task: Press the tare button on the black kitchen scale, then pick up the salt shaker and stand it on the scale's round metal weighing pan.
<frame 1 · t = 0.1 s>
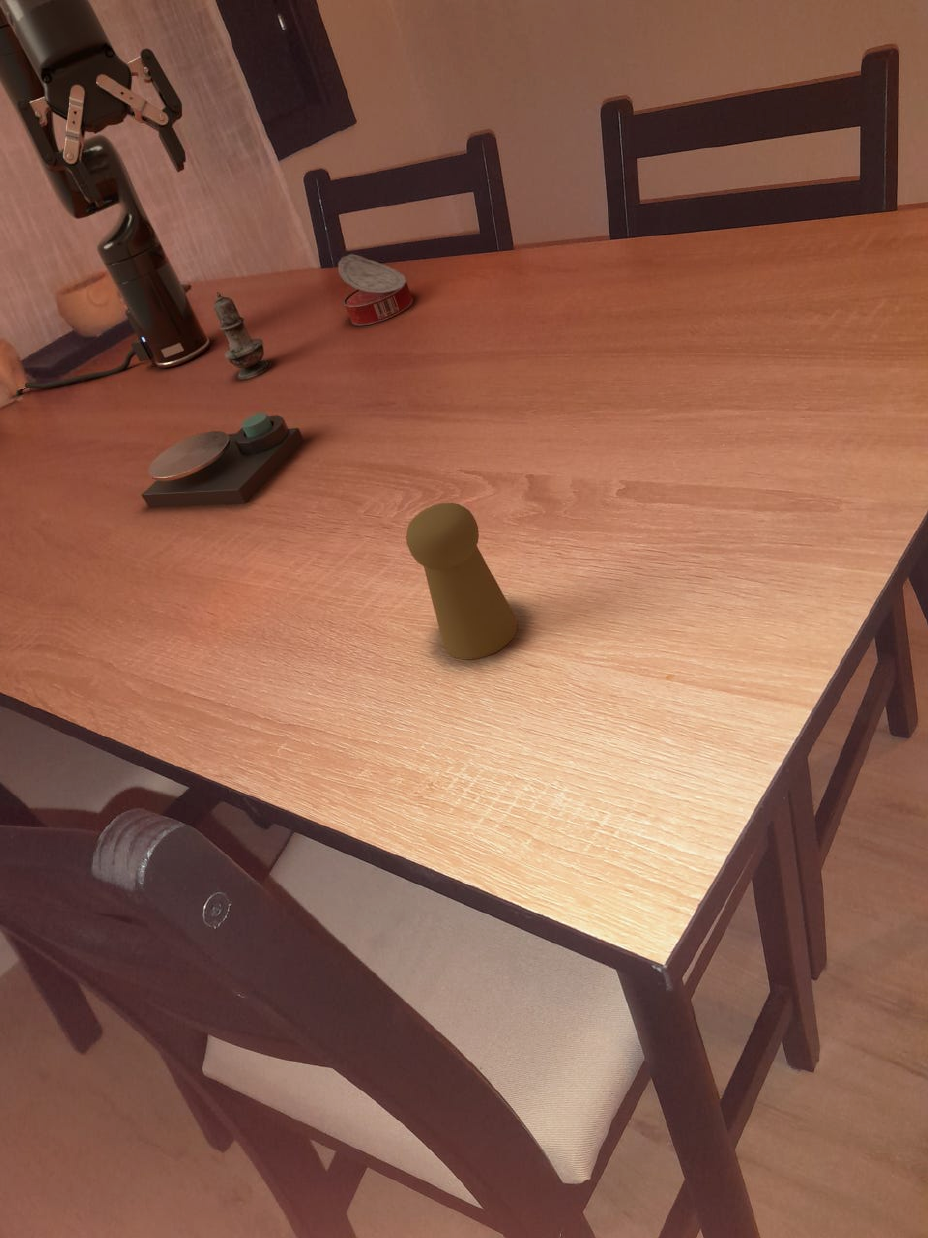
hand: (141, 186, 93), 31 cm above the table, tool tilted 20°, fingers open, 8 cm apart
scale: (227, 474, 112), on the table
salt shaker: (254, 371, 139), on the table
pawn piece: (480, 634, 73), on the table
scale pan: (190, 457, 110), resting on scale
canned food: (382, 311, 142), on the table
tare button: (257, 425, 110), point 4 cm above the table, slide at 0.1 cm
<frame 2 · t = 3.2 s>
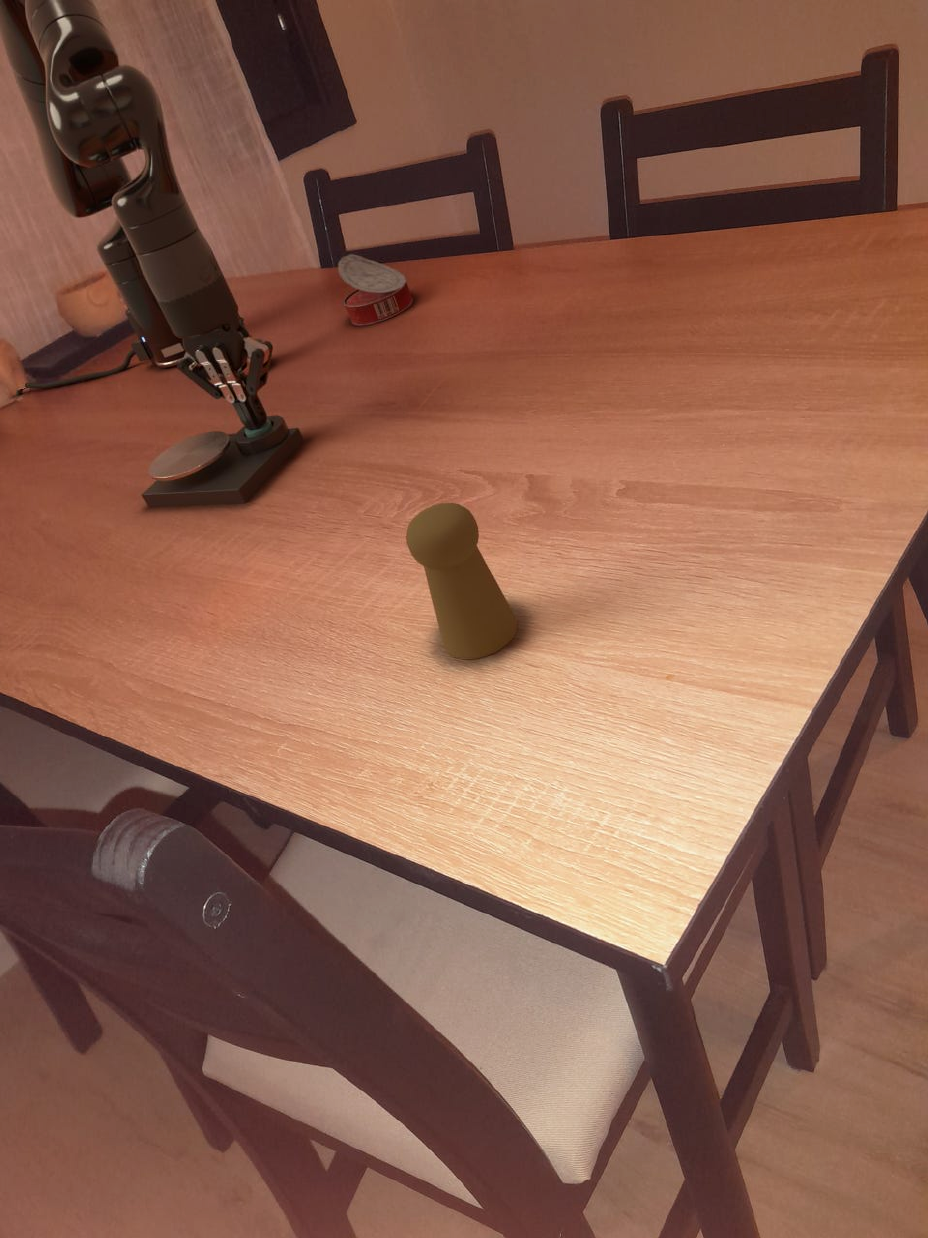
hand: (257, 426, 110), 4 cm above the table, tool pointing down, fingers closed
tare button: (260, 431, 111), point 3 cm above the table, slide at -0.7 cm, touching gripper
everything else where it was.
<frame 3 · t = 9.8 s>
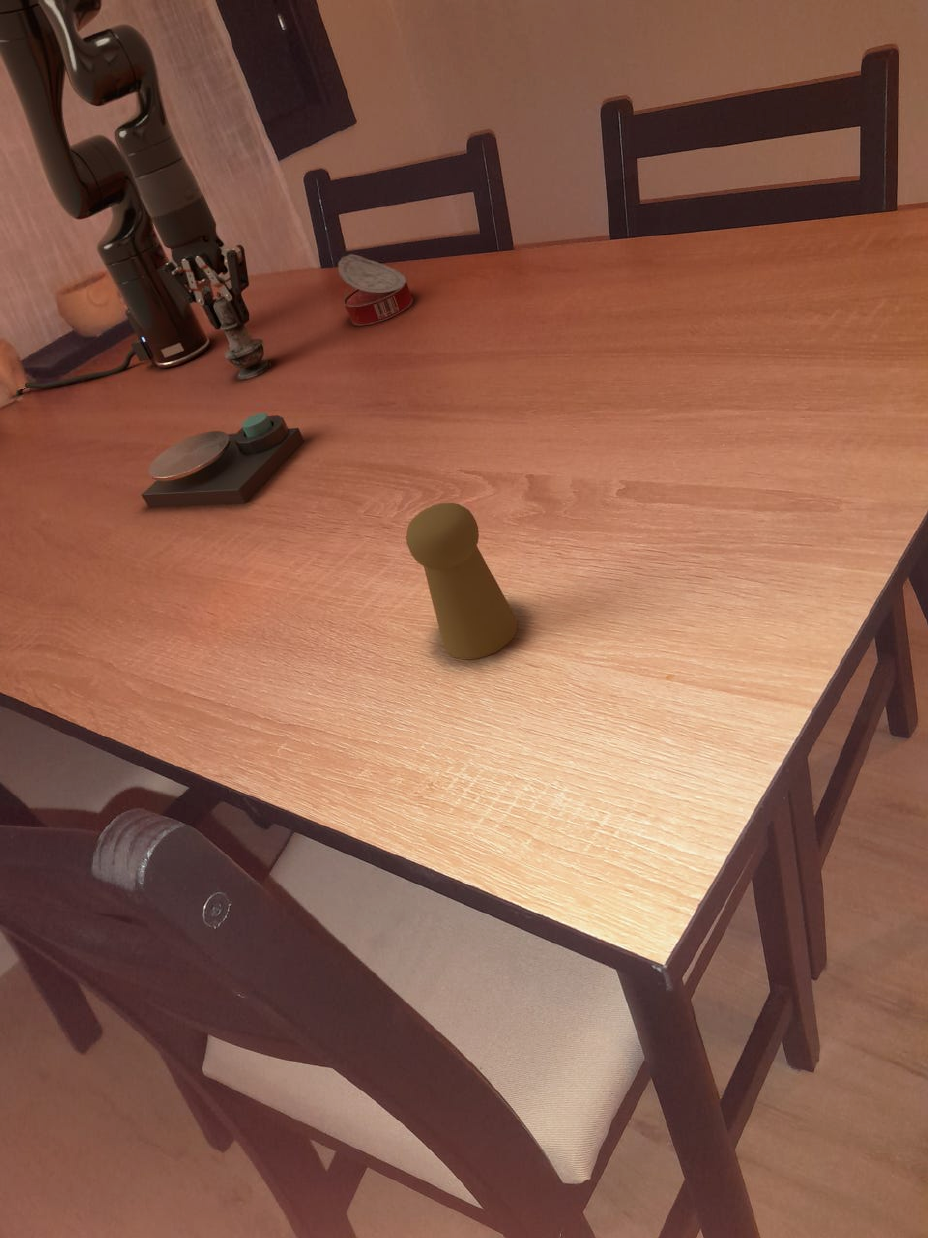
hand: (232, 324, 135), 7 cm above the table, tool pointing down, fingers closed on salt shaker, 3 cm apart
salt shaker: (254, 371, 139), on the table, touching gripper
tare button: (257, 425, 110), point 4 cm above the table, slide at 0.1 cm
everything else where it was.
when the fingers open (11 cm above the table, at t = 17.1 s): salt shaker stays where it is, resting on scale pan.
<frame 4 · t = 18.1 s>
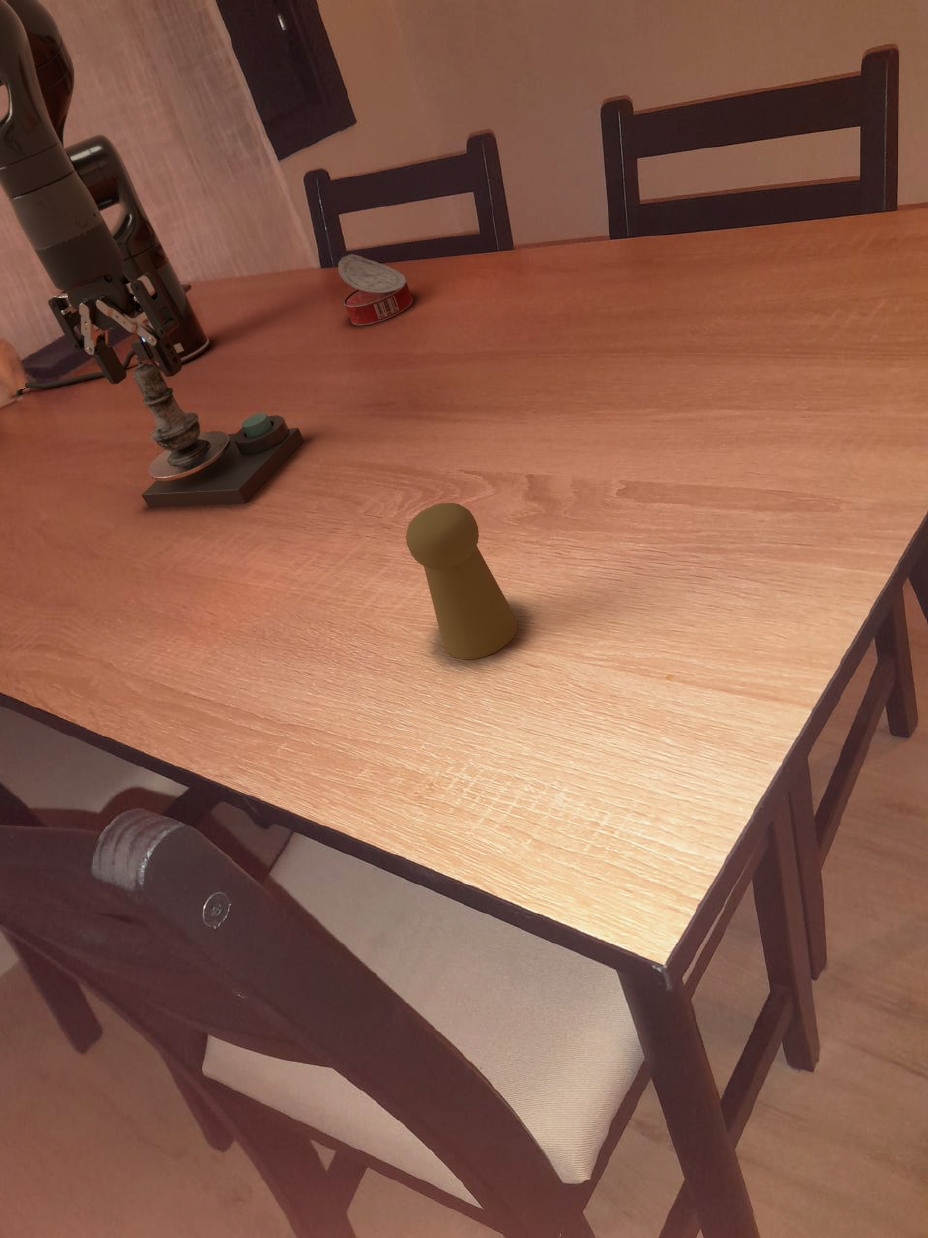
hand: (146, 377, 104), 14 cm above the table, tool pointing down, fingers open, 8 cm apart
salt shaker: (189, 454, 110), point 4 cm above the table, touching scale pan
everything else where it was.
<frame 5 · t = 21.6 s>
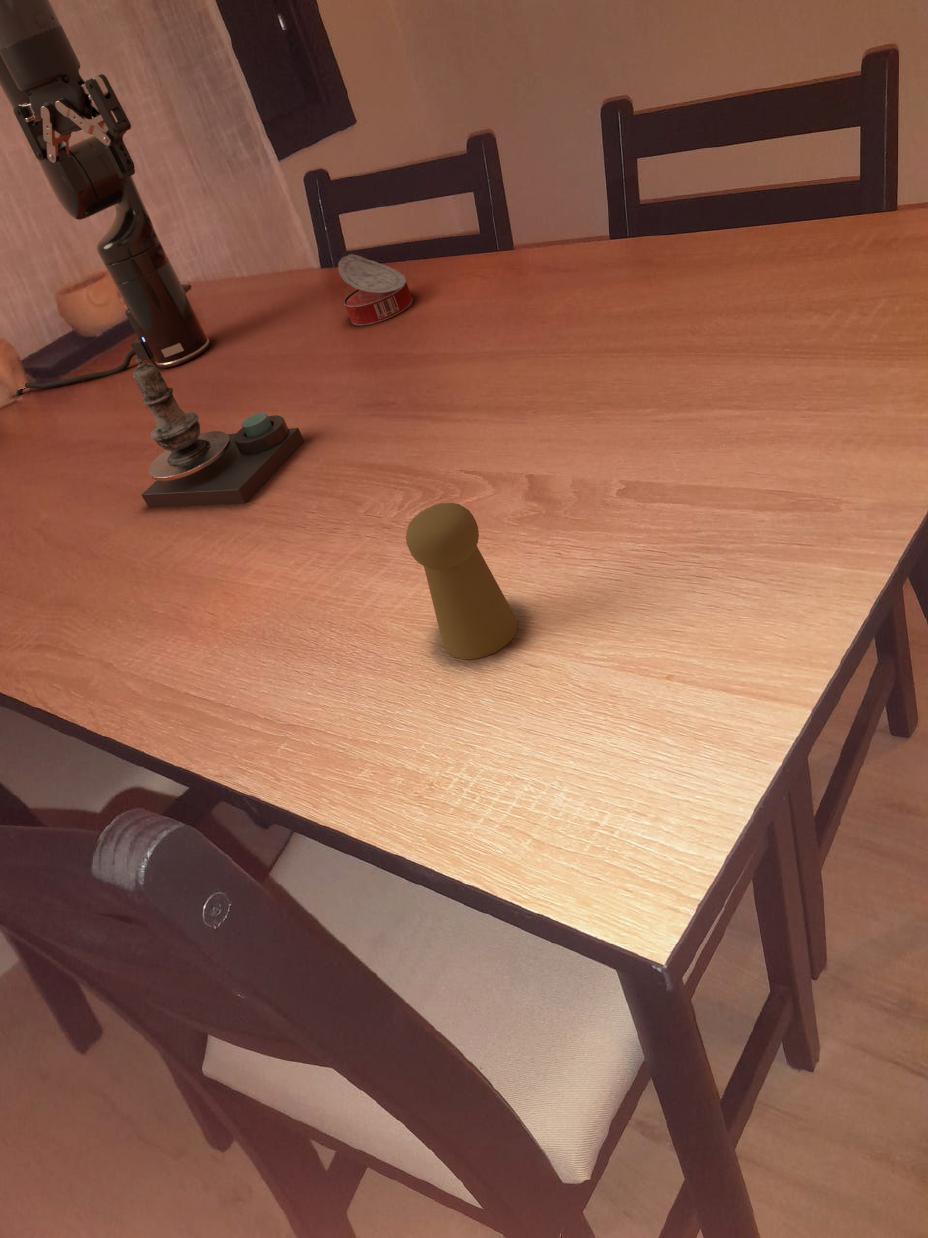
hand: (103, 183, 115), 30 cm above the table, tool pointing down, fingers open, 8 cm apart
nothing on the table moved.
at the end: tare button pushed in 0.9 cm at the most during the clip, back to where it started at the end; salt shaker inside the target area on the scale (0.1 cm from its centre), point 3.8 cm above the scale's base; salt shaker tilted 0° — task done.
